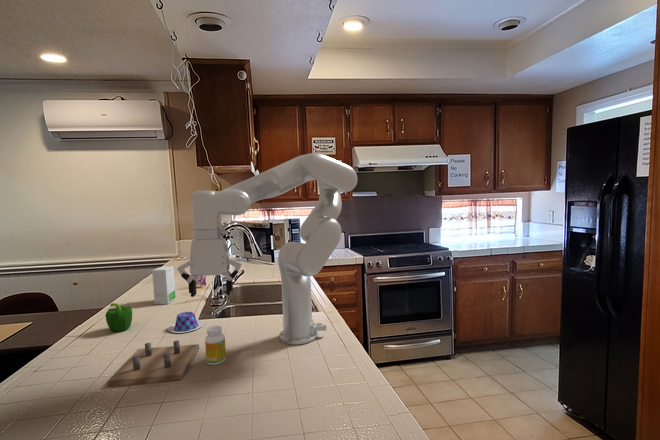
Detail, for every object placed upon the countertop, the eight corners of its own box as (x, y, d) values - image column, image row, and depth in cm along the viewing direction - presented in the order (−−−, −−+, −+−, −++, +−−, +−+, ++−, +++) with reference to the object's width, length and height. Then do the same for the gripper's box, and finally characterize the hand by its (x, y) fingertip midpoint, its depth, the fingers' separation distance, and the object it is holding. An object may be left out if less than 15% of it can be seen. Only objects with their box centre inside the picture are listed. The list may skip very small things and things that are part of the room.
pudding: (187, 336, 118) (186, 321, 118) (160, 332, 123) (159, 318, 122) (210, 323, 130) (210, 310, 129) (185, 320, 134) (184, 307, 133)
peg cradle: (199, 348, 108) (198, 333, 108) (181, 379, 90) (180, 361, 90) (138, 353, 106) (137, 338, 105) (108, 386, 88) (106, 367, 88)
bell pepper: (139, 325, 130) (137, 299, 129) (124, 334, 121) (121, 306, 121) (118, 324, 130) (116, 299, 130) (101, 333, 122) (99, 306, 121)
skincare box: (168, 304, 153) (165, 269, 152) (153, 304, 153) (150, 270, 152) (176, 298, 161) (174, 265, 160) (162, 298, 161) (160, 266, 160)
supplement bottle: (220, 366, 97) (218, 332, 96) (202, 364, 98) (200, 331, 97) (229, 357, 102) (227, 325, 101) (212, 355, 103) (210, 324, 102)
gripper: (241, 232, 101) (244, 289, 103) (180, 234, 99) (183, 292, 101) (237, 235, 94) (240, 296, 95) (171, 237, 92) (175, 300, 93)
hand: (211, 294), depth 98 cm, fingers open, 9 cm apart
